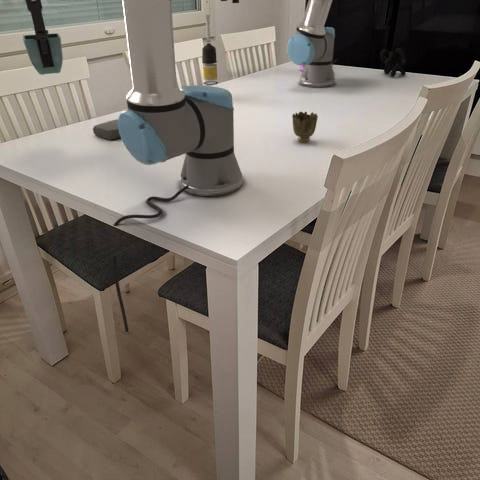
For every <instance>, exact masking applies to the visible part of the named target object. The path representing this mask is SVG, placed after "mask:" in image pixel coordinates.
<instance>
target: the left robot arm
mask: <svg viewBox="0 0 480 480" xmlns="http://www.w3.org/2000/svg"><path fill="white" fill-rule="evenodd" d="M24 1H25V4H26V7H27V11H28V12H29V13H30V16H31V20H32V24H33V30H34V35H36V37H33V38H34V40H37V44H38V48H39V52H40V56H41V60H42V65H43V68H47V67H54V63H53V58H52V54H51V49H50V45H49V41H48V39H47V38H48V35H47V34H50V33H49V30H48V29H46V24H45V21H44V17H43V16H44V15H43V13H42V12H43V11H44V9H43V4H42V0H24ZM122 8H123V16H124V24H125V32H126V41H127V49H128V50H127V51H128V57H129V58H128V59H129V65H130V75H131V81H132V82H131V83H132V89H131V90H130V91H129V92H128V93H127V95H126V97H125V98H126V106H127V107H126V108H127V109H125V110H123V111H122V112H121V113H120V114H119V115H118V118H117V119H118V130H119V133H120V136H121V137H120V139H121V142H122V143H123V145H124V147H125V148H126V150H127V151H128V153H129V154H130V156H131V157H132V158H134V160H135V161H137V162H139V163H141V164H143V165H146V166H152V165H156V164H159V163H165V162H167V161H169V160H172V159H174V158H178V157H180V156H182V155H184V158H183V164H182V168H181V171H180V176H179V183H180V184H179V185H180V188H181V189H179V190H178V191H176V192H175V194H174V195H172V196H171V197H167V198H166V197H160V196H150V197H148V198H147V199H145V203H146V204H147V206H149V207H151V208H153V209H154V210H157V211H158V212H157V213H155V214H127V215H124V216H122V217H119V218H118V219H117V220H116V221H114V223H113V225H112V226H113V227H117V226H118V225H119V224H120V223H121V222H123V221H125V220H129V219H156V218H158V217H160V216H161V215H162V214H163V209H162V208H161V207H159V206H158V205H157V204H154V203H152V202H151V201H153V200H155V201H159V202H172V201H174V200H175V199H176V198H178V196H180V195H181V194H182V193H184V192H186V193H187V194H190V195H194V196H199V197H221V196H224V195H229V194H232V193H234V192H235V191H237V190H239V189H240V188H241V187H242V185H243V174H242V171H241V168H240V165H239V163H238V160H237V157H236V154H235V132H234V131H235V129H234V127H235V126H234V123H235V121H234V110H235V108H234V102H233V96H232V93H231V91H229V90H228V89H226V88H223V87H218V86H214V85H194V84H191V85H184V86H182V87H180V88H179V86H178V85H177V69H176V55H175V54H176V53H175V39H174V25H173V24H174V23H173V7H172V0H122ZM112 268H113V276H114V284H115V289H116V294H117V299H118V303H119V307H120V312H121V316H122V320H123V325H124V331H125V333H128V332H129V326H128V320H127V315H126V310H125V307H124V306H125V305H124V302H123V298H122V293H121V287H120V283H119V277H118V266H117V256H116V255H112Z"/></svg>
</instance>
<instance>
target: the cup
mask: <svg viewBox="0 0 480 480" xmlns="http://www.w3.org/2000/svg"><path fill="white" fill-rule="evenodd" d="M291 116H292V117H291V118H292V130H293V133H294V135H295V136H296V137H297V141H298V142H299V143H301V144H302V143H303V144H304V143H305V144H306V143H308V142H310V139H311V137H312V136H313V135H314V134H315V132H316V128H317V123H318V118H319V115H318V114H317V113H314V112H313V111H311V112H310V113H309V114H308V112H307V111H304V112H303V111H299V112H295V113H292V115H291Z"/></svg>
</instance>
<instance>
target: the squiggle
mask: <svg viewBox="0 0 480 480" xmlns="http://www.w3.org/2000/svg"><path fill="white" fill-rule="evenodd" d="M385 55H386V56H385ZM387 56H388V57H387ZM379 57H380V61H381V62H382V63H384V64H385V65H384V67H383V73H384V74H385V75H390V77H392V78H394V77H395V76H396V75H397V72H399V73H400V74H401V76H405V75H406V73H407V72H406V71H405V69H404V68H403V67H402V66H404V65H405V64H406V61H407V60H406V57H405V54H404V51H403V49H402V48H400V47H397V48H396V49H395V54H394V51H389V50H387V49H382V50H381V51H380V53H379ZM399 59H400V62H398V60H399Z"/></svg>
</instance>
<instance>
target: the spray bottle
mask: <svg viewBox="0 0 480 480" xmlns="http://www.w3.org/2000/svg"><path fill="white" fill-rule="evenodd" d="M92 131H93V134H94V135H95V136H96V137H99V138H102V139H105V140H110V141H111V140H116V139H121V136H120V133H119V130H118V118H116V119H112V120H107V121H105V122H102V123H98V124H95V125H94V126H93V127H92Z"/></svg>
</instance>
